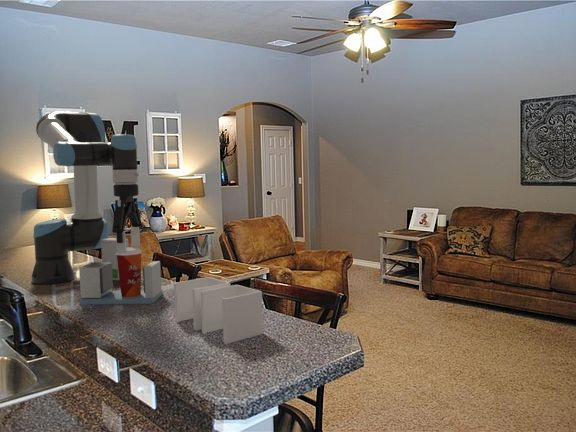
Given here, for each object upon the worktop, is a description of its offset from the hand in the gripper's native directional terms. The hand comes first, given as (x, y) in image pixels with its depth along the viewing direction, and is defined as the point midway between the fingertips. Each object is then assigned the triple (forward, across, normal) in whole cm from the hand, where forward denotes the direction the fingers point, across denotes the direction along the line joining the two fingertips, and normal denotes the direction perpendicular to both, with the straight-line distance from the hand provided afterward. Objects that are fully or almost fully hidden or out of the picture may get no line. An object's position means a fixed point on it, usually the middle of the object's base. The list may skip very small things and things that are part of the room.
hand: (128, 249), depth 167 cm
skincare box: (+17, +34, +17) cm, 41 cm away
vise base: (+16, 0, +3) cm, 16 cm away
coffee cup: (+15, 0, 0) cm, 15 cm away
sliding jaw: (+14, 0, +11) cm, 18 cm away
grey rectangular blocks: (+16, -32, -34) cm, 49 cm away
